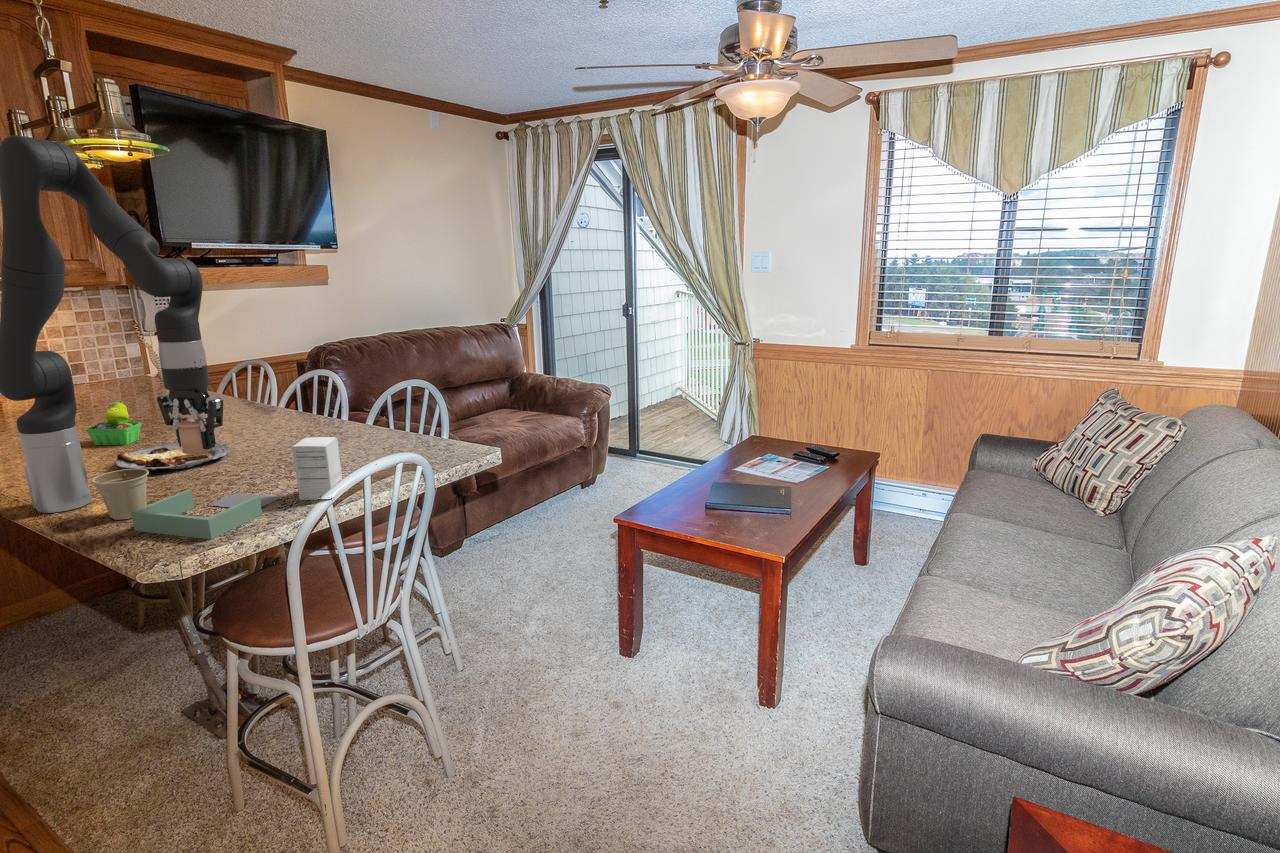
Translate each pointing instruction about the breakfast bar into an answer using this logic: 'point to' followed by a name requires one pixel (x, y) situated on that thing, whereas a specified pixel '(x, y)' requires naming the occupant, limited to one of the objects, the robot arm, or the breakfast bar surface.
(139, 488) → the flower pot
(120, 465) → the food plate
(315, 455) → the supplement box
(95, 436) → the fruit basket
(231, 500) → the slate mat
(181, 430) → the tan round knob
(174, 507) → the green u-shaped frame
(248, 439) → the breakfast bar surface
